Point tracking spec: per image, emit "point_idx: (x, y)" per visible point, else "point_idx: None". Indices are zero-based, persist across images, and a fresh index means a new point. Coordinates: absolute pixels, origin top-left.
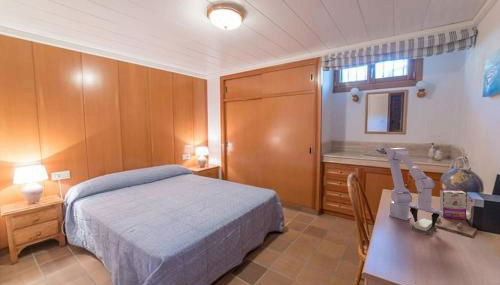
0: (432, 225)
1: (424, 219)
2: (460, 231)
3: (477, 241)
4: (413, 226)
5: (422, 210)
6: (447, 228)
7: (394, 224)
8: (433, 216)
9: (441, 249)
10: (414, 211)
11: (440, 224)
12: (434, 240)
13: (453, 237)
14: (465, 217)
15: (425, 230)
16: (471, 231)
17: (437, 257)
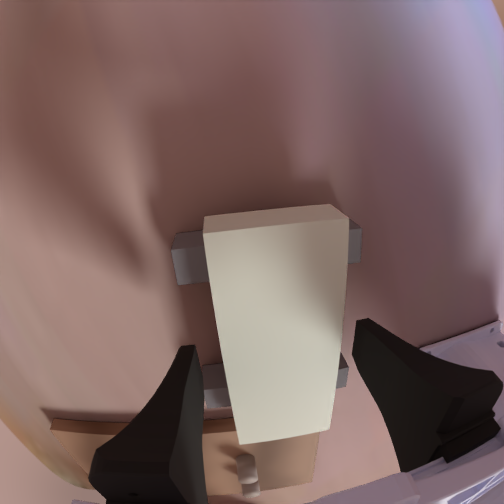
0: (186, 353)
1: (309, 422)
2: (100, 438)
3: (13, 387)
4: (349, 229)
5: (354, 494)
6: None
7: (468, 196)
8: (139, 454)
9: (20, 31)
10: (452, 398)
11: (219, 452)
12: (103, 144)
13: (75, 348)
14: None
15: (212, 218)
16: (85, 462)
17: None
